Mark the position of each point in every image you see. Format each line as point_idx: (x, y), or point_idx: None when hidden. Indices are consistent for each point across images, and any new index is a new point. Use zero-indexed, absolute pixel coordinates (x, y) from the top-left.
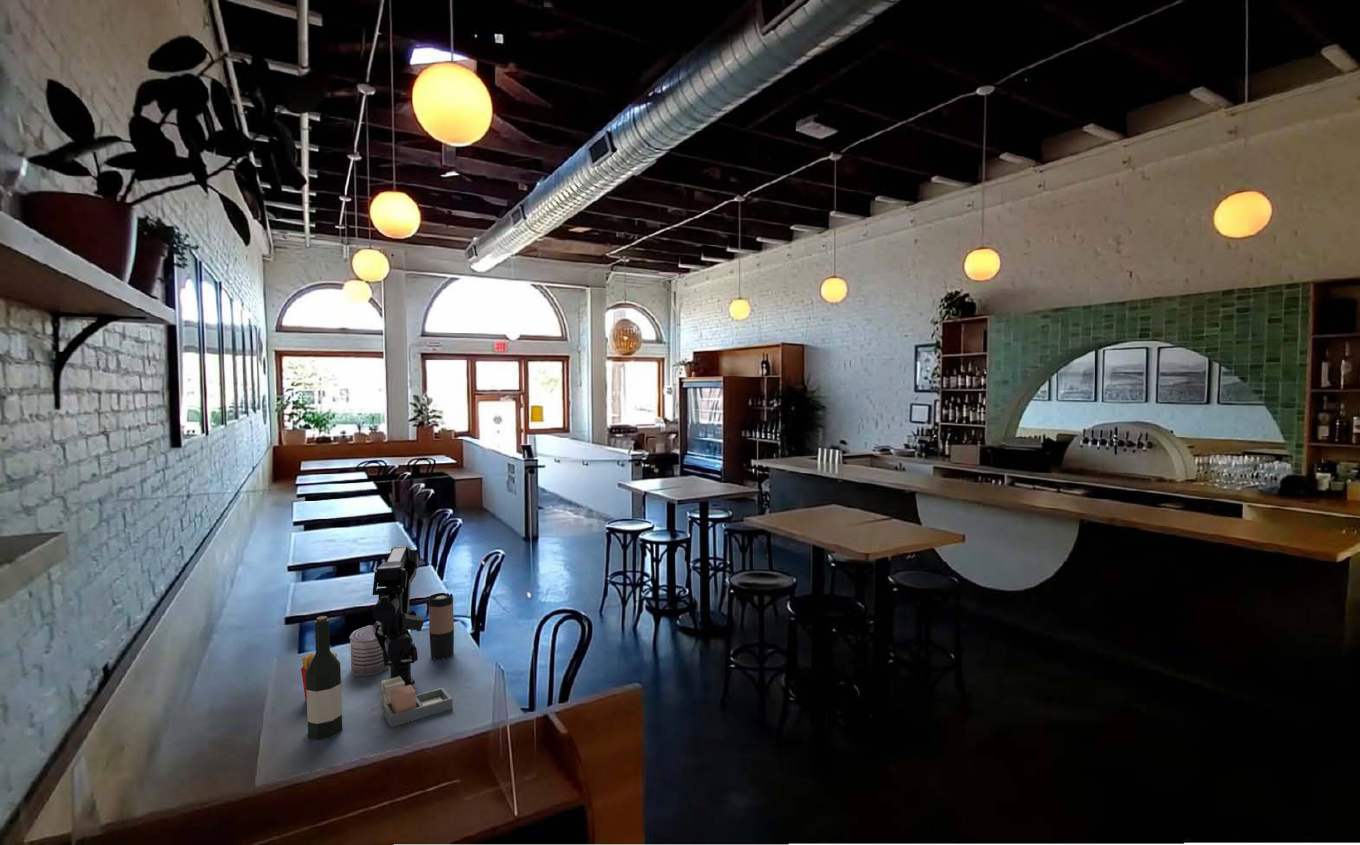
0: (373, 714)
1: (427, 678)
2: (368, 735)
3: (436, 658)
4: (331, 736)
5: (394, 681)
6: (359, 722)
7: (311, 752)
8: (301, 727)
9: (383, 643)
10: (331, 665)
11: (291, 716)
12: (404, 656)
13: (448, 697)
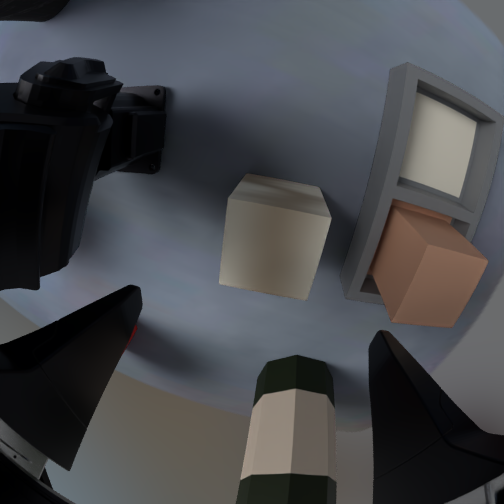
0: (309, 292)
1: (165, 38)
2: (401, 335)
3: (63, 4)
4: (332, 379)
5: (273, 247)
6: (322, 330)
7: (352, 402)
8: (237, 390)
9: (82, 407)
10: None
11: (174, 381)
12: (100, 152)
13: (492, 117)
